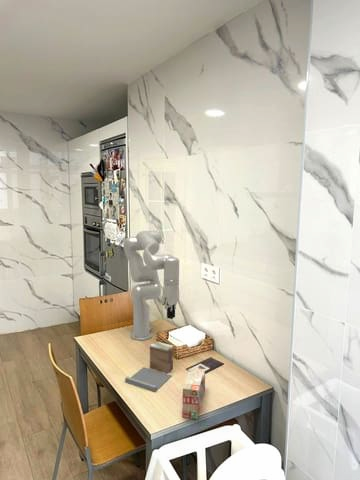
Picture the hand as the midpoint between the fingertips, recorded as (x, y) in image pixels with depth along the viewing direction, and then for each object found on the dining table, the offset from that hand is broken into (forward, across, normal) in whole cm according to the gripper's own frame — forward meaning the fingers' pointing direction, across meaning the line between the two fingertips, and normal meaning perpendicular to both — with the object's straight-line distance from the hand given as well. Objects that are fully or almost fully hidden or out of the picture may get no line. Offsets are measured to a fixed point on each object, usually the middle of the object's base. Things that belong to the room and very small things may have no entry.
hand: (170, 317), depth 173 cm
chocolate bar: (+24, -3, +18) cm, 30 cm away
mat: (+23, +19, 0) cm, 30 cm away
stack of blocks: (+24, +26, +26) cm, 43 cm away
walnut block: (+23, +9, 0) cm, 25 cm away
